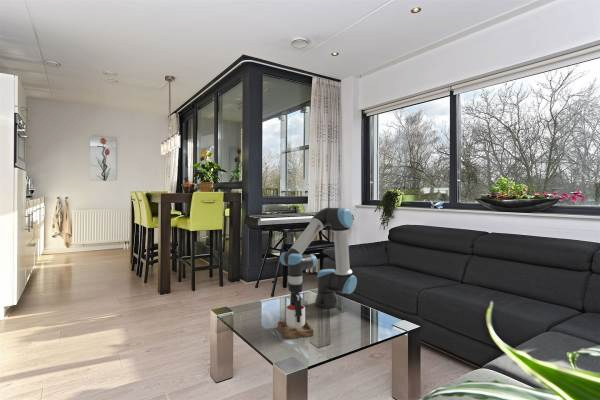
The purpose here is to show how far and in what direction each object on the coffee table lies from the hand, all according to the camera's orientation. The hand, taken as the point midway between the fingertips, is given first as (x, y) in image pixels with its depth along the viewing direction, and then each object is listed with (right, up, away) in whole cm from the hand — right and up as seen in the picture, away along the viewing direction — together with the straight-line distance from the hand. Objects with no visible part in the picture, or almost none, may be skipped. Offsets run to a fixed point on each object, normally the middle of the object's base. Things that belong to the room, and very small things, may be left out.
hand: (295, 324), depth 190 cm
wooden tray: (0, -4, 0) cm, 4 cm away
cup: (0, -1, 0) cm, 1 cm away
